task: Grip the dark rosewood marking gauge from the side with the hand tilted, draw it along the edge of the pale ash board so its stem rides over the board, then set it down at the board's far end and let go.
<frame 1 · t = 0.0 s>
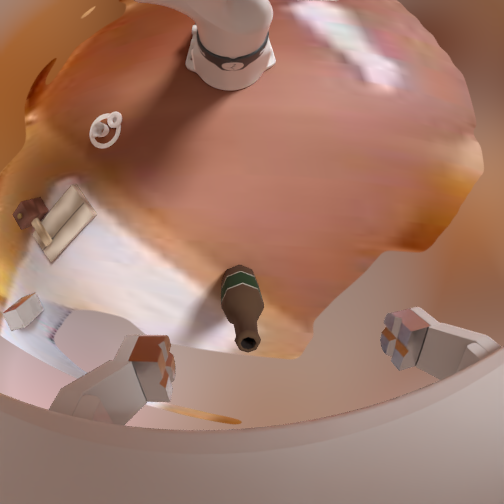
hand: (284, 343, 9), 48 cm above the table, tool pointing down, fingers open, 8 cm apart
white curved piece: (116, 135, 49), on the table
marking gauge: (39, 210, 50), on the table
beer bottle: (239, 279, 60), on the table
ash board: (63, 223, 52), on the table
small box: (33, 303, 57), on the table
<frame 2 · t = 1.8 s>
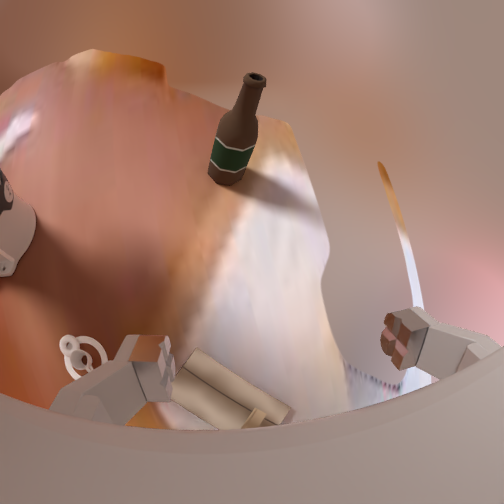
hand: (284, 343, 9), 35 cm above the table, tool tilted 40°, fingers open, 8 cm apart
white curved piece: (89, 342, 36), on the table
marking gauge: (222, 450, 34), on the table
beer bottle: (224, 172, 56), on the table
ash board: (227, 402, 38), on the table
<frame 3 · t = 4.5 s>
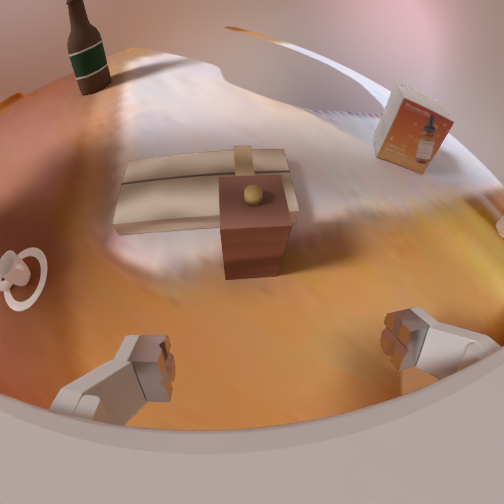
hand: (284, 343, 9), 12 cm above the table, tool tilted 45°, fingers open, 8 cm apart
white curved piece: (24, 260, 24), on the table
marking gauge: (248, 255, 25), on the table
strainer: (500, 231, 29), on the table
beer bottle: (96, 87, 43), on the table
ash board: (204, 193, 28), on the table
small box: (397, 155, 34), on the table
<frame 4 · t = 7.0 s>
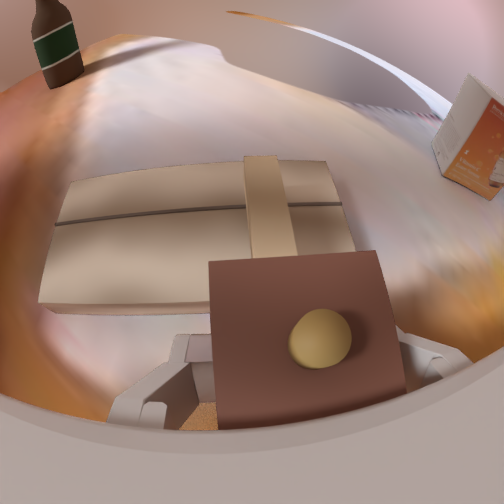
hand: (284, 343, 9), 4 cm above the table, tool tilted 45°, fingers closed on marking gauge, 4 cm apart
marking gauge: (272, 369, 13), on the table, touching gripper
beer bottle: (66, 79, 31), on the table
ash board: (190, 240, 16), on the table
small box: (461, 173, 22), on the table
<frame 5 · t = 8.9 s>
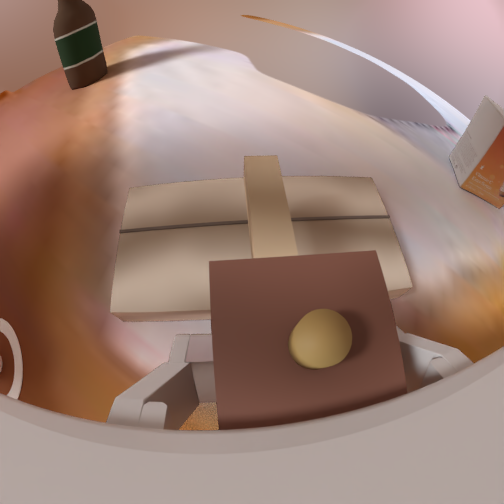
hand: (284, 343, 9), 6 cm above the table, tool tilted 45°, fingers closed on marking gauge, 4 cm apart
marking gauge: (273, 369, 13), point 2 cm above the table, touching gripper
beer bottle: (88, 80, 33), on the table
ash board: (261, 248, 18), on the table
small box: (474, 184, 24), on the table
when the fingers open (5 cm above the table, at t = 10.6 s): marking gauge stays where it is, on the table.
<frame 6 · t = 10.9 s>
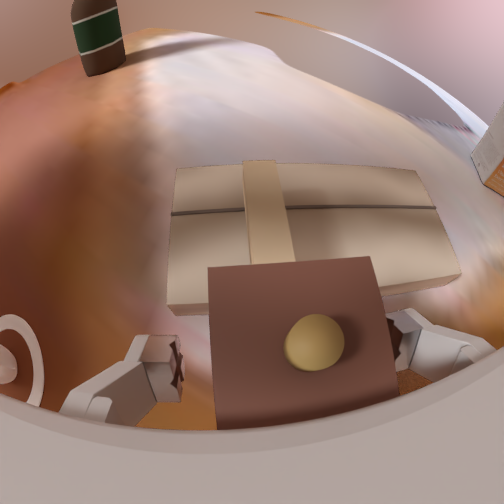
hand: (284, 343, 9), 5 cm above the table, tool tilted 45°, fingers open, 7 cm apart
white curved piece: (5, 332, 13), on the table
marking gauge: (271, 369, 13), on the table
beer bottle: (105, 67, 32), on the table
ash board: (321, 235, 17), on the table
small box: (494, 181, 23), on the table
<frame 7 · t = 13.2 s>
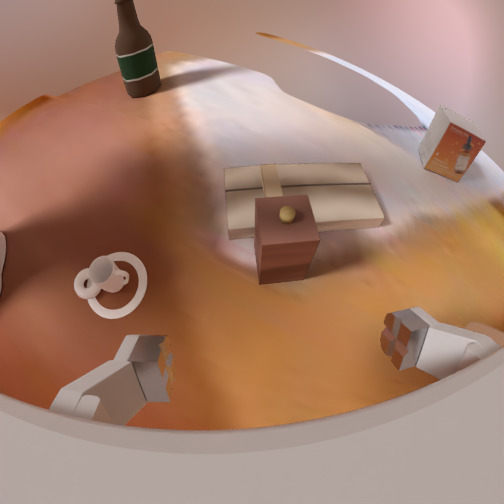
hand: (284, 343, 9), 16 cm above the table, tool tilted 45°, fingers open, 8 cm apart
white curved piece: (109, 265, 29), on the table
marking gauge: (278, 262, 28), on the table
beer bottle: (144, 90, 48), on the table
ash board: (301, 201, 32), on the table
small box: (437, 166, 37), on the table
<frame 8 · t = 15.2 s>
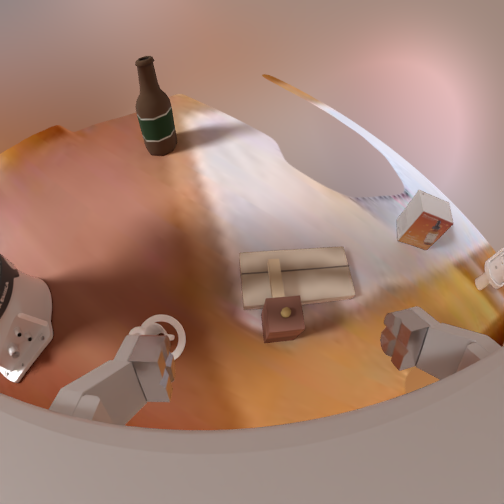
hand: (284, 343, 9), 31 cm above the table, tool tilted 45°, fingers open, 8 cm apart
white curved piece: (153, 323, 40), on the table
marking gauge: (277, 327, 41), on the table
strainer: (478, 284, 45), on the table
beer bottle: (162, 147, 59), on the table
ash board: (296, 279, 45), on the table
small box: (411, 235, 50), on the table
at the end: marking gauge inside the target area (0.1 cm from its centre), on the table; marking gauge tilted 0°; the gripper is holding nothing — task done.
